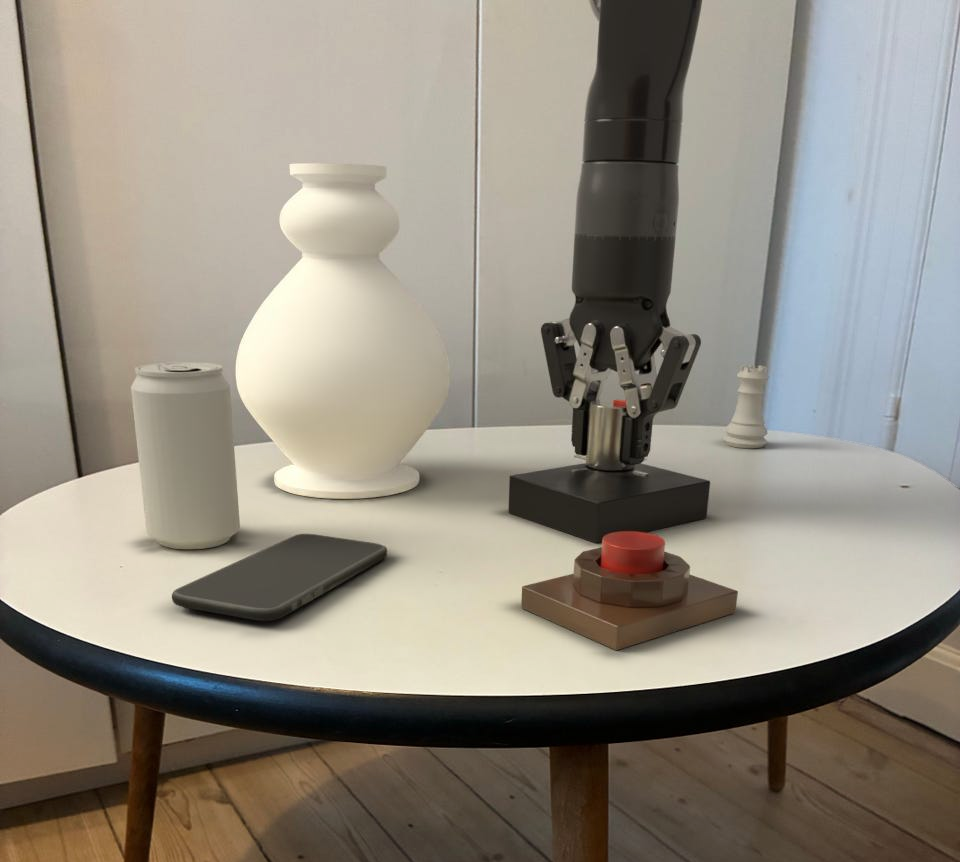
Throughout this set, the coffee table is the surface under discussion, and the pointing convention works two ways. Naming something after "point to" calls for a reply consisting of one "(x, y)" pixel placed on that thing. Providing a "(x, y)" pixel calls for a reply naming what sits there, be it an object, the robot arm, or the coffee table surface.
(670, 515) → the black flat square block
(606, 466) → the hob knob
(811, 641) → the coffee table surface
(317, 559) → the smartphone
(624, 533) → the button
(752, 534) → the coffee table surface
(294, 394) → the decorative vase
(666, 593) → the button block
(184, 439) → the beverage can
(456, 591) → the coffee table surface
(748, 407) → the rook chess piece
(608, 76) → the robot arm
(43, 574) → the coffee table surface
